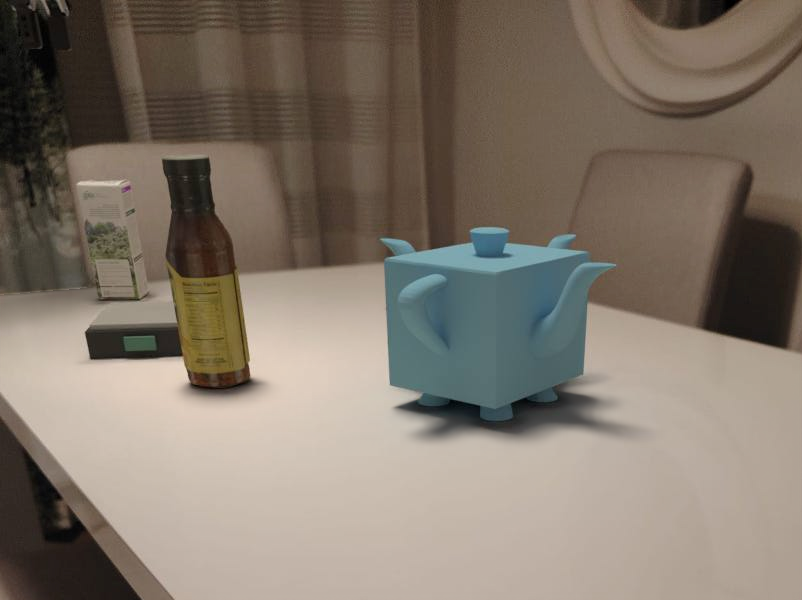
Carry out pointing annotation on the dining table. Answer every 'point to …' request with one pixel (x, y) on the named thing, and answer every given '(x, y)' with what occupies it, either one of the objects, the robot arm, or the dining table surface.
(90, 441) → the dining table surface
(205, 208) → the sauce bottle
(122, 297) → the syrup box
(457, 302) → the teakettle
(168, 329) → the scale
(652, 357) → the dining table surface
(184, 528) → the dining table surface
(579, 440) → the dining table surface
